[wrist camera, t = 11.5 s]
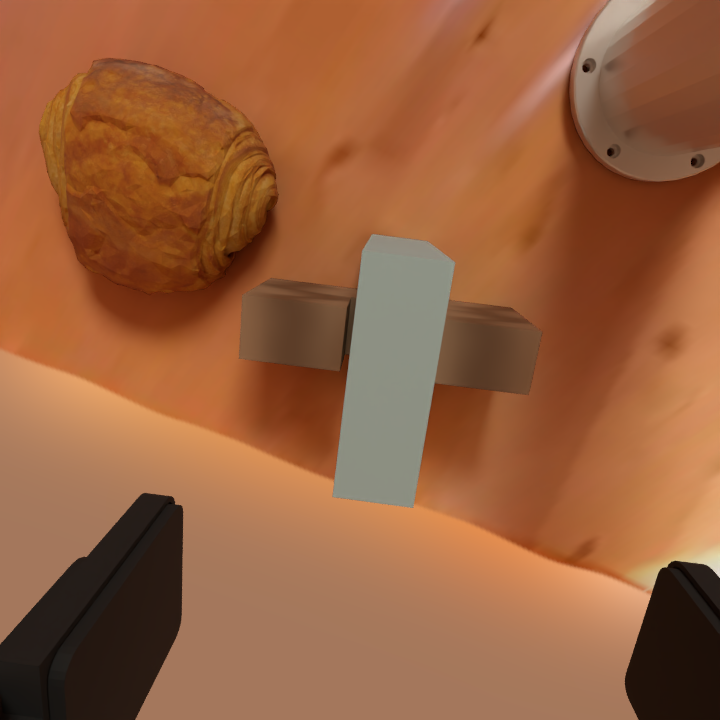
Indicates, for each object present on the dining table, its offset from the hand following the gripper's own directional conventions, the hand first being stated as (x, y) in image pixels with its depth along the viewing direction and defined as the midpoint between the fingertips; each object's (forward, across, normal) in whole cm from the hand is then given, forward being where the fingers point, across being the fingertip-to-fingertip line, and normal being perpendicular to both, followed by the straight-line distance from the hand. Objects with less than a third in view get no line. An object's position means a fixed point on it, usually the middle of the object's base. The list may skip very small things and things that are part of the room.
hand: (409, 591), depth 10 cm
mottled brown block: (+30, 0, +1) cm, 30 cm away
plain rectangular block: (+30, 0, +1) cm, 30 cm away
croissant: (+31, +17, -7) cm, 36 cm away
